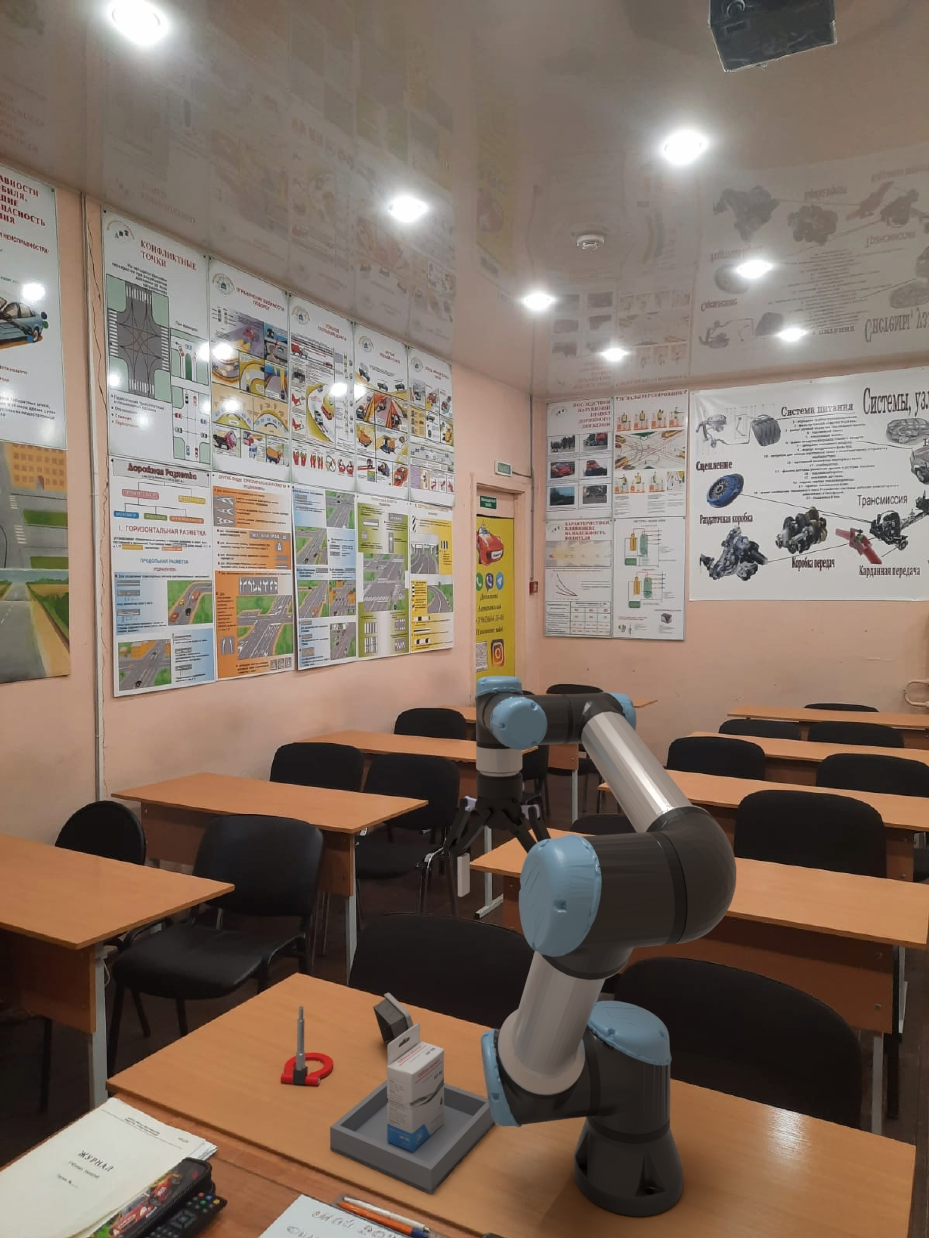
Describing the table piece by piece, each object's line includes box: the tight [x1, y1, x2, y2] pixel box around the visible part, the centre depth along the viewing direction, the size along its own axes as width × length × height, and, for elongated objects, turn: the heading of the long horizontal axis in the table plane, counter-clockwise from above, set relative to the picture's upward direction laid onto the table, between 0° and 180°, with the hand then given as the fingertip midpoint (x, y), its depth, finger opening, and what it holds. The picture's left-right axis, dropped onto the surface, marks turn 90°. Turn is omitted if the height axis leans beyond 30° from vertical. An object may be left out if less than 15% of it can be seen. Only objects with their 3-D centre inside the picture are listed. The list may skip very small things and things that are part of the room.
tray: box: [329, 1079, 496, 1196], centre depth 125 cm, size 18×18×4 cm
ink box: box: [386, 1022, 445, 1152], centre depth 125 cm, size 8×5×15 cm, turn 147°
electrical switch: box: [372, 992, 415, 1047], centre depth 149 cm, size 9×5×9 cm, turn 30°
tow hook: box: [280, 1005, 334, 1086], centre depth 143 cm, size 8×13×9 cm
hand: (500, 901), depth 134 cm, fingers open, 13 cm apart
